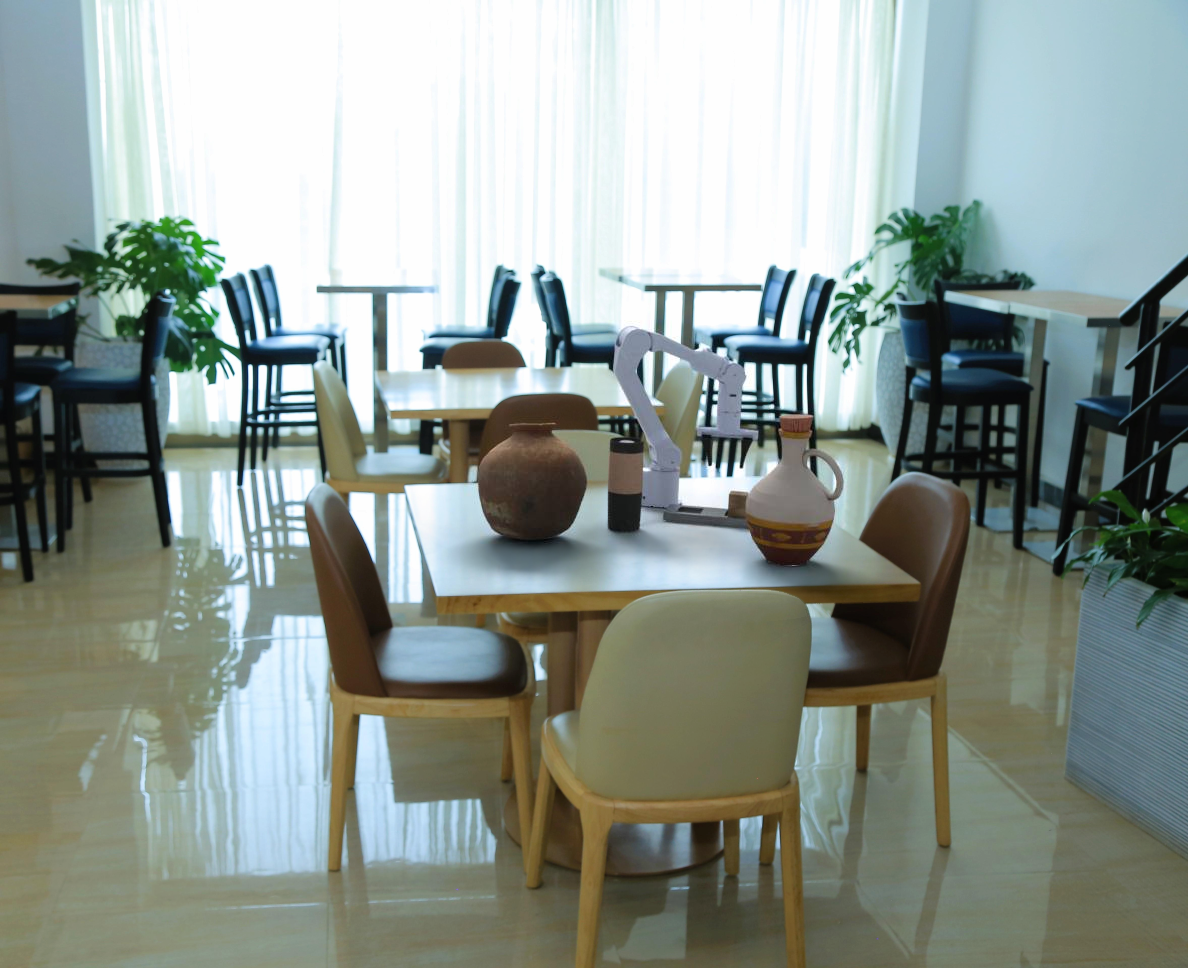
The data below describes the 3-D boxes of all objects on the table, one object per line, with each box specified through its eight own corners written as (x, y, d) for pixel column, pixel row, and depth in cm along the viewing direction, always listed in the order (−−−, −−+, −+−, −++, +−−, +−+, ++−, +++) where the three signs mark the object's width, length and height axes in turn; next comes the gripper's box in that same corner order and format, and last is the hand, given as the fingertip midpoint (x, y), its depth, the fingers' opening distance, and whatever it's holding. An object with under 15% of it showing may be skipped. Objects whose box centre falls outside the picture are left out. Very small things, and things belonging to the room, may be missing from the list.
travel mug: (600, 529, 262) (603, 440, 258) (615, 522, 269) (619, 435, 265) (631, 534, 259) (635, 444, 255) (646, 527, 266) (650, 439, 262)
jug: (851, 560, 244) (862, 415, 238) (821, 579, 229) (832, 426, 223) (762, 545, 254) (771, 405, 247) (728, 563, 239) (736, 415, 232)
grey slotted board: (663, 520, 272) (663, 512, 272) (669, 512, 281) (670, 504, 281) (759, 529, 268) (759, 520, 267) (763, 520, 276) (763, 511, 276)
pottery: (538, 557, 238) (541, 434, 233) (454, 537, 251) (455, 420, 246) (606, 537, 256) (610, 422, 251) (524, 519, 269) (526, 410, 264)
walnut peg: (727, 524, 272) (728, 494, 270) (729, 520, 275) (731, 490, 274) (744, 525, 271) (746, 495, 269) (746, 521, 274) (748, 492, 273)
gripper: (696, 411, 285) (693, 467, 287) (757, 415, 281) (753, 471, 284) (700, 407, 291) (698, 462, 294) (760, 411, 288) (756, 466, 291)
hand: (725, 466), depth 290 cm, fingers open, 7 cm apart
